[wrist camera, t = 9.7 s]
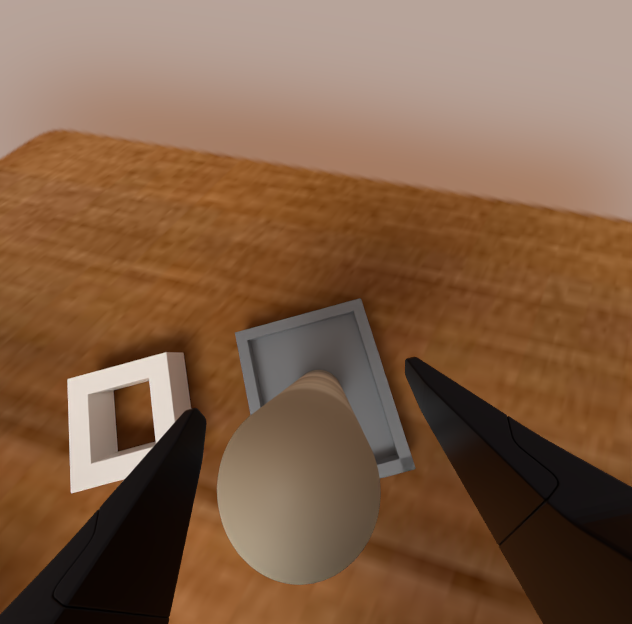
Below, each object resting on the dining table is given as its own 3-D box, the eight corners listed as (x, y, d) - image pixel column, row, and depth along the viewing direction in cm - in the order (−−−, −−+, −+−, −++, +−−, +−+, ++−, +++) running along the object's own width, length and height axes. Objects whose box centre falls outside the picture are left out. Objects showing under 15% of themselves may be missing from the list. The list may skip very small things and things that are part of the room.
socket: (197, 451, 17) (179, 464, 15) (100, 477, 17) (70, 493, 15) (183, 352, 19) (166, 352, 17) (95, 376, 19) (67, 379, 17)
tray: (407, 458, 16) (415, 468, 15) (273, 494, 16) (268, 508, 15) (358, 302, 18) (360, 298, 17) (242, 334, 19) (235, 332, 17)
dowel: (337, 424, 16) (367, 608, 4) (290, 413, 16) (196, 557, 5) (346, 374, 17) (390, 416, 5) (300, 365, 17) (240, 383, 5)
